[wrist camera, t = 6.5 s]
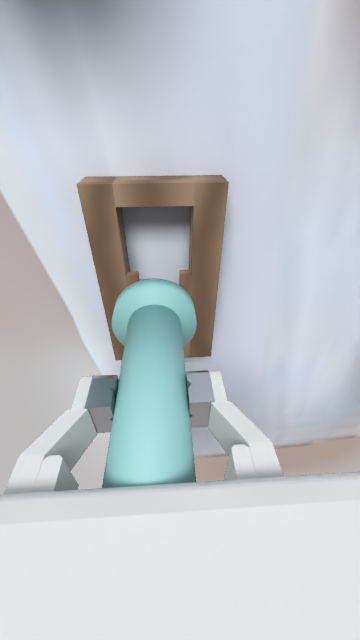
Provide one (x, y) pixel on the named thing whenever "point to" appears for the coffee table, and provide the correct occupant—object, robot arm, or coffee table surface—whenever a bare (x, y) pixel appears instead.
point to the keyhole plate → (204, 251)
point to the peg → (152, 387)
